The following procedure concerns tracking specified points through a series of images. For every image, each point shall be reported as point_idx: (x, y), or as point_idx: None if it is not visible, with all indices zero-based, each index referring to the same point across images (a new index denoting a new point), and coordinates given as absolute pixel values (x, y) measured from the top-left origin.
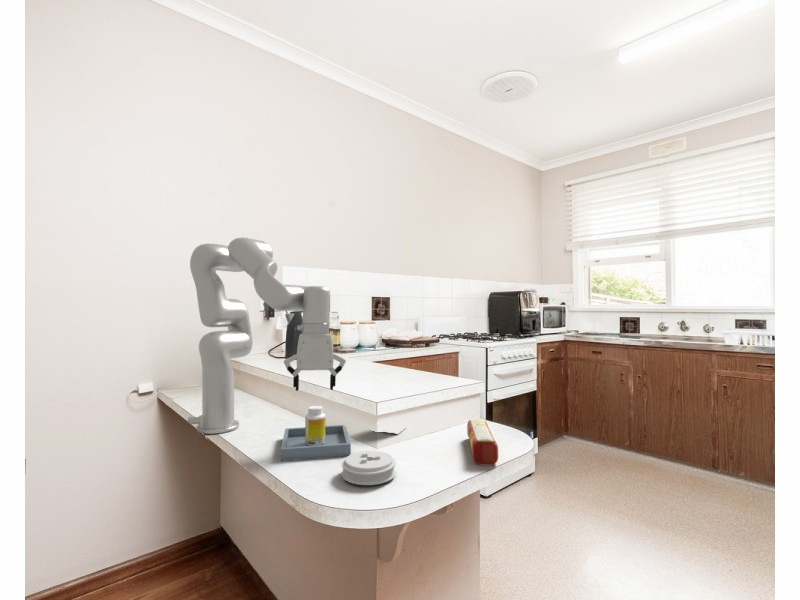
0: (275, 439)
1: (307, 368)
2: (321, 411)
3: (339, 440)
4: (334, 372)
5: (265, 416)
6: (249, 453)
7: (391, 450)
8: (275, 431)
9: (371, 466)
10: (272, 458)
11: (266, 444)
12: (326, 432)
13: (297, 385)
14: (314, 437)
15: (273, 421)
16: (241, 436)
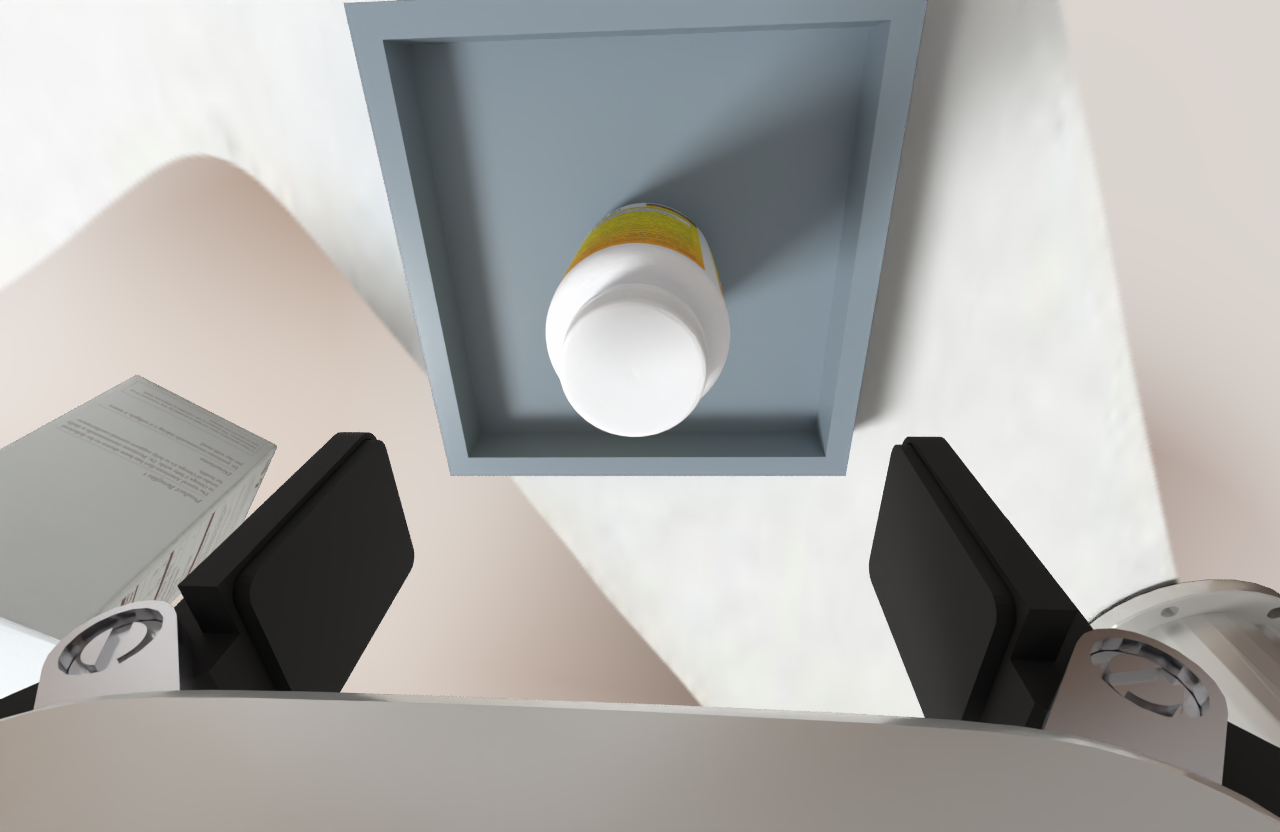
0: (888, 437)
1: (865, 759)
2: (571, 324)
3: (486, 297)
4: (98, 680)
5: None
6: (1086, 213)
7: (101, 71)
8: None
9: None
10: (948, 71)
11: (952, 362)
12: (578, 438)
13: (945, 479)
14: (649, 212)
15: (871, 694)
16: (1074, 519)
